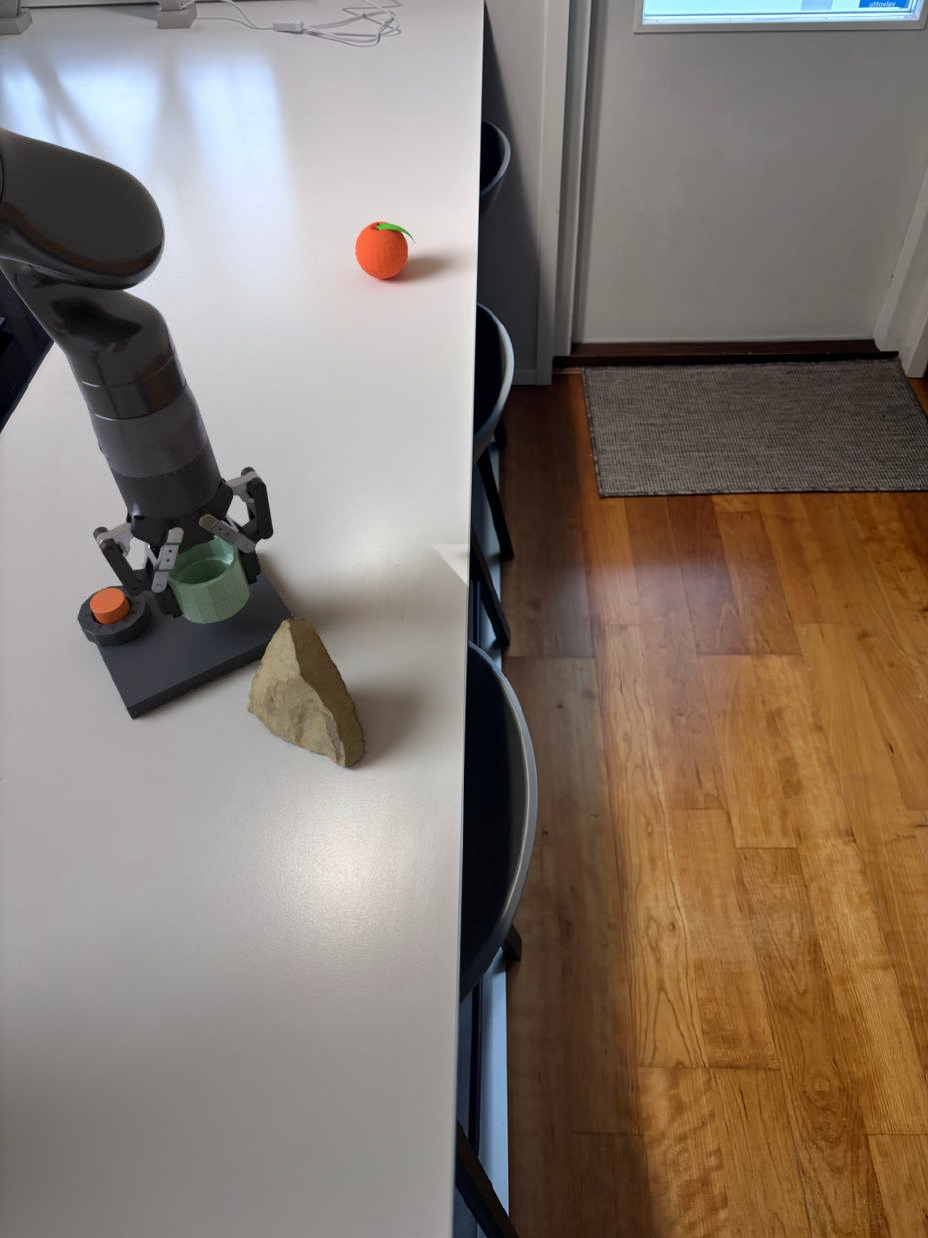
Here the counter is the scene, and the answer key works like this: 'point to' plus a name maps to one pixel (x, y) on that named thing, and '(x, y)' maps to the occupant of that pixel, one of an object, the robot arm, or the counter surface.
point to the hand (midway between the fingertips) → (212, 594)
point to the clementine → (382, 249)
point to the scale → (180, 645)
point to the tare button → (110, 606)
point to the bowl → (209, 582)
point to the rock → (306, 695)
